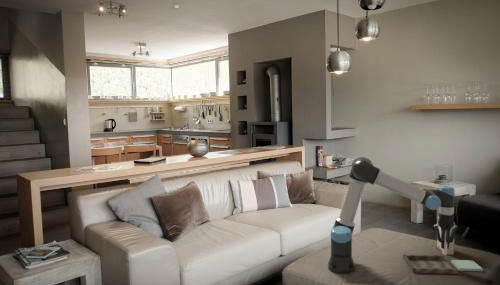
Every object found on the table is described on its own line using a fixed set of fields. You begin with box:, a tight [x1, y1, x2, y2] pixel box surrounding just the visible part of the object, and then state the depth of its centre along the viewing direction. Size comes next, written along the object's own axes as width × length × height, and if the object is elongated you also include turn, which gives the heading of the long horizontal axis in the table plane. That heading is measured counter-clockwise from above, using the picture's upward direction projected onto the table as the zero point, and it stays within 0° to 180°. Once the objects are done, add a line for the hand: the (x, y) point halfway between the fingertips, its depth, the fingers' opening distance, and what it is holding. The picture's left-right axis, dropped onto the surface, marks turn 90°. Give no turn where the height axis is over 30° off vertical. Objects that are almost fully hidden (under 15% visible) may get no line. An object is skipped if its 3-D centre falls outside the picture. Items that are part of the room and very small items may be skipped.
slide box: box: [402, 254, 459, 275], centre depth 224 cm, size 23×20×3 cm
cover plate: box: [450, 259, 484, 273], centre depth 221 cm, size 12×12×2 cm
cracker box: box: [436, 215, 456, 256], centre depth 245 cm, size 14×6×21 cm, turn 172°
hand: (444, 253), depth 222 cm, fingers closed
